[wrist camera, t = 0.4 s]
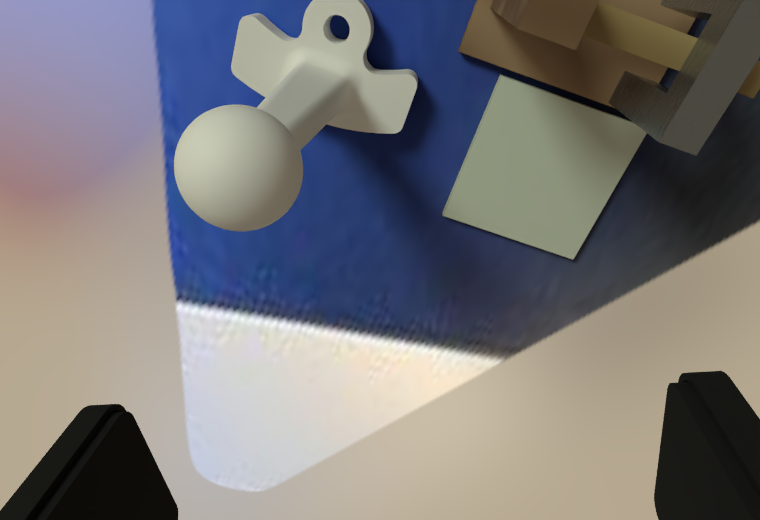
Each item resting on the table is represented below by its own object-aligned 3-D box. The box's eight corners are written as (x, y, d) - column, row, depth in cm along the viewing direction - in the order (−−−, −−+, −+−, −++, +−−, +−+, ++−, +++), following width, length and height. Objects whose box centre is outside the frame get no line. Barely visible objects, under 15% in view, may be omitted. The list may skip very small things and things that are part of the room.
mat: (500, 74, 34) (501, 75, 33) (645, 126, 34) (649, 129, 34) (442, 212, 39) (442, 215, 38) (571, 255, 39) (573, 259, 39)
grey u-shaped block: (679, -33, 27) (763, -33, 20) (712, -21, 27) (806, -16, 20) (608, 102, 30) (658, 142, 23) (637, 113, 30) (696, 155, 23)
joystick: (238, 82, 35) (45, 194, 18) (262, -43, 32) (52, -53, 14) (396, 139, 36) (360, 300, 19) (438, 24, 33) (441, 91, 15)
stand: (513, -98, 29) (562, -139, 18) (714, -21, 30) (882, -13, 19) (458, 49, 33) (469, 93, 22) (638, 115, 34) (740, 189, 23)
